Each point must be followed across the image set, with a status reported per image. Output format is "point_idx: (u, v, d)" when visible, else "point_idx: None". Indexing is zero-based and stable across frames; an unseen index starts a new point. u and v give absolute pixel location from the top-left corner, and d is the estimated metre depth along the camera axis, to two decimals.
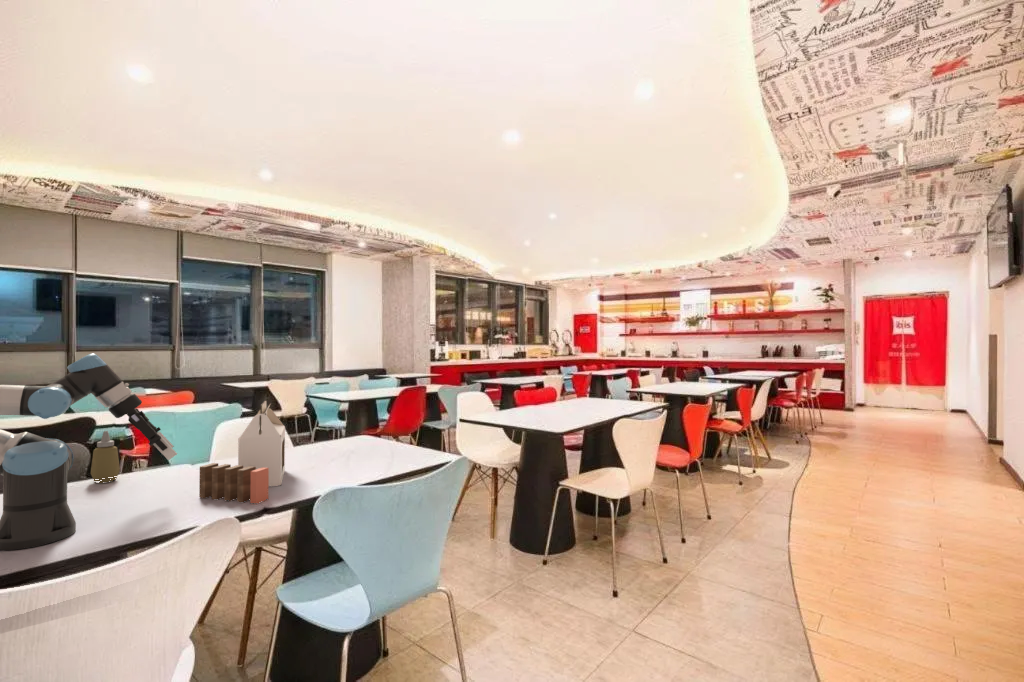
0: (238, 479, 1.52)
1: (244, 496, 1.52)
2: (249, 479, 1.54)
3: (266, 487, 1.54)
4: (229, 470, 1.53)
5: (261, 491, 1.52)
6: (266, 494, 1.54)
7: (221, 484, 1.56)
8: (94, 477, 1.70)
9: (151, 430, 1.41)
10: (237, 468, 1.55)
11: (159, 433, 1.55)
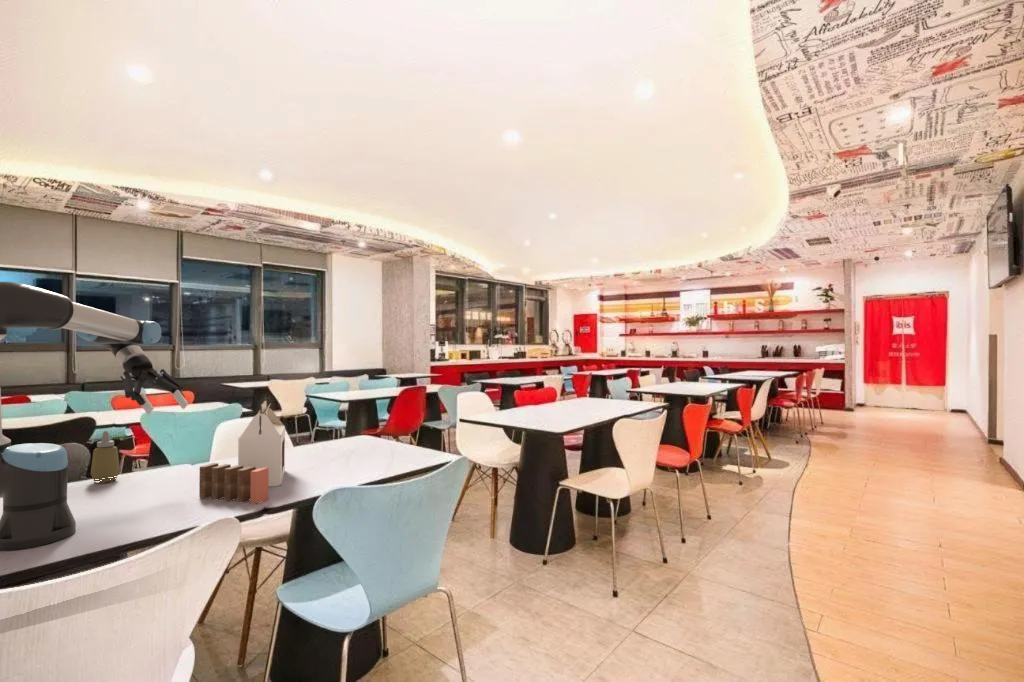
0: (238, 479, 1.52)
1: (244, 496, 1.52)
2: (249, 479, 1.54)
3: (266, 487, 1.54)
4: (229, 470, 1.53)
5: (261, 491, 1.52)
6: (266, 494, 1.54)
7: (221, 484, 1.56)
8: (94, 477, 1.70)
9: None
10: (237, 468, 1.55)
11: None
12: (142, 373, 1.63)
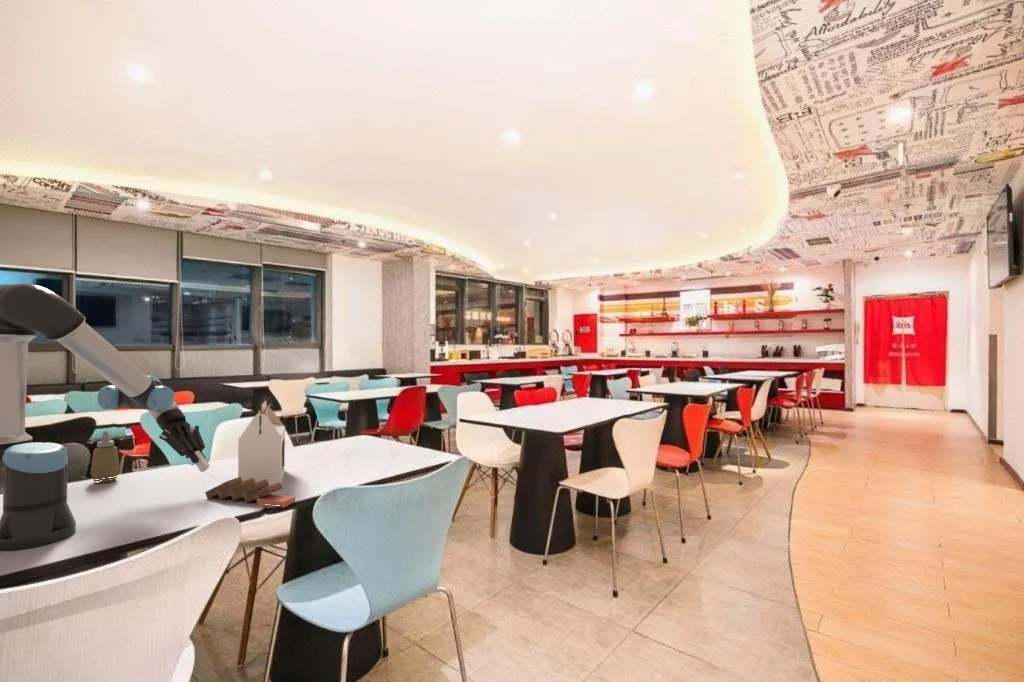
0: (261, 490, 1.50)
1: (251, 500, 1.51)
2: None
3: None
4: (256, 488, 1.50)
5: None
6: None
7: None
8: (94, 477, 1.70)
9: None
10: (263, 487, 1.53)
11: None
12: (178, 428, 1.60)
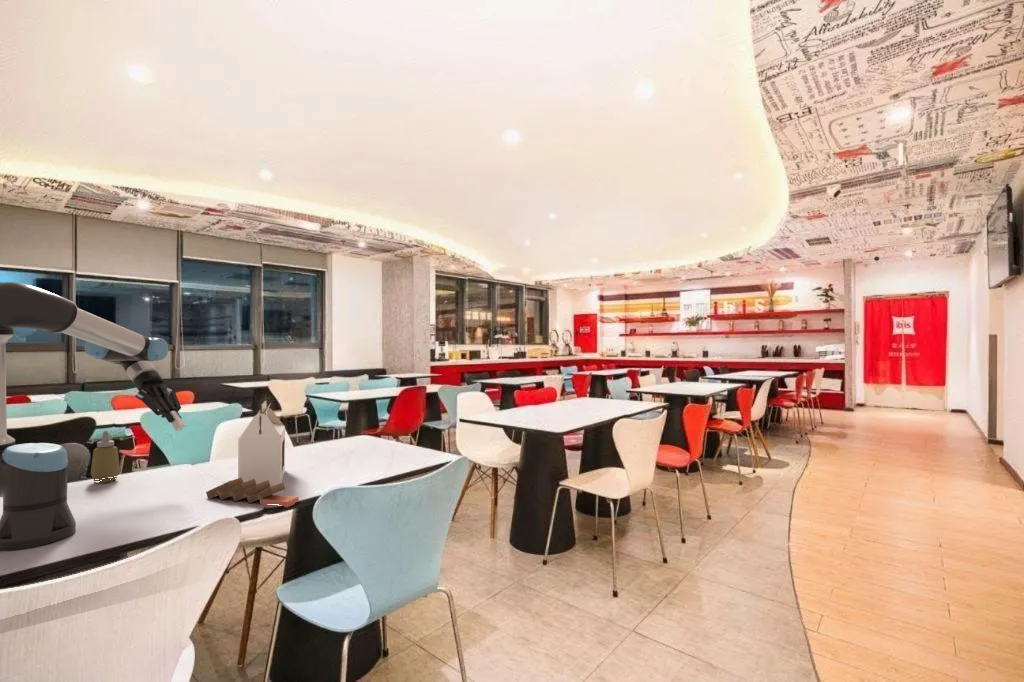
0: (264, 491, 1.49)
1: None
2: None
3: None
4: (257, 490, 1.50)
5: None
6: None
7: None
8: (94, 477, 1.70)
9: None
10: None
11: None
12: (154, 389, 1.64)
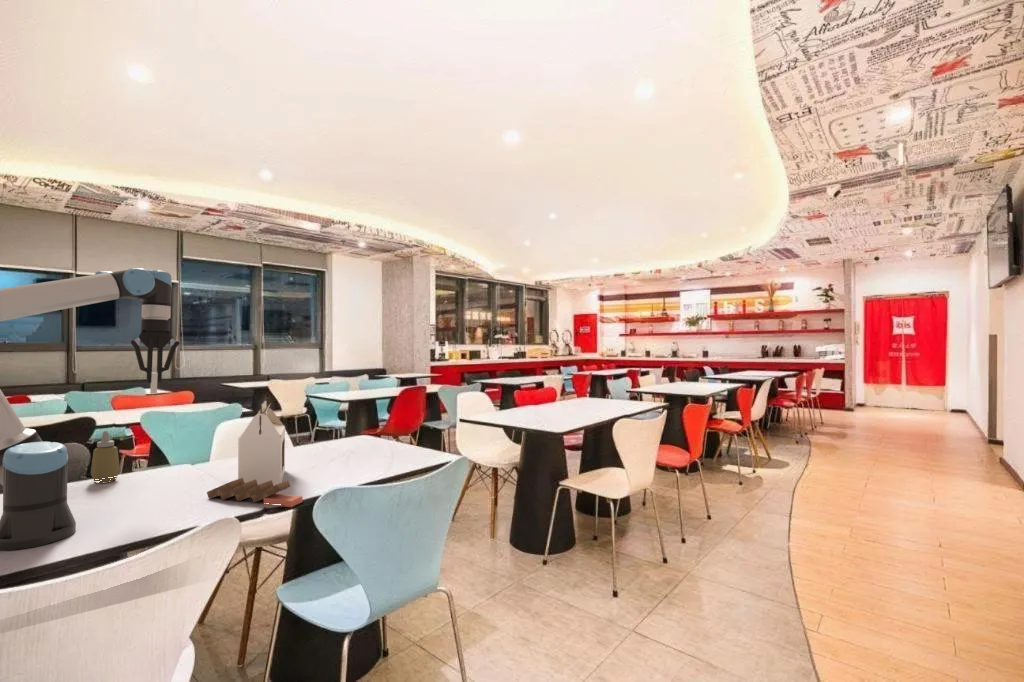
0: (270, 488, 1.50)
1: None
2: None
3: None
4: (261, 490, 1.50)
5: None
6: None
7: (236, 494, 1.54)
8: (94, 477, 1.70)
9: None
10: (267, 488, 1.53)
11: None
12: (150, 342, 1.53)
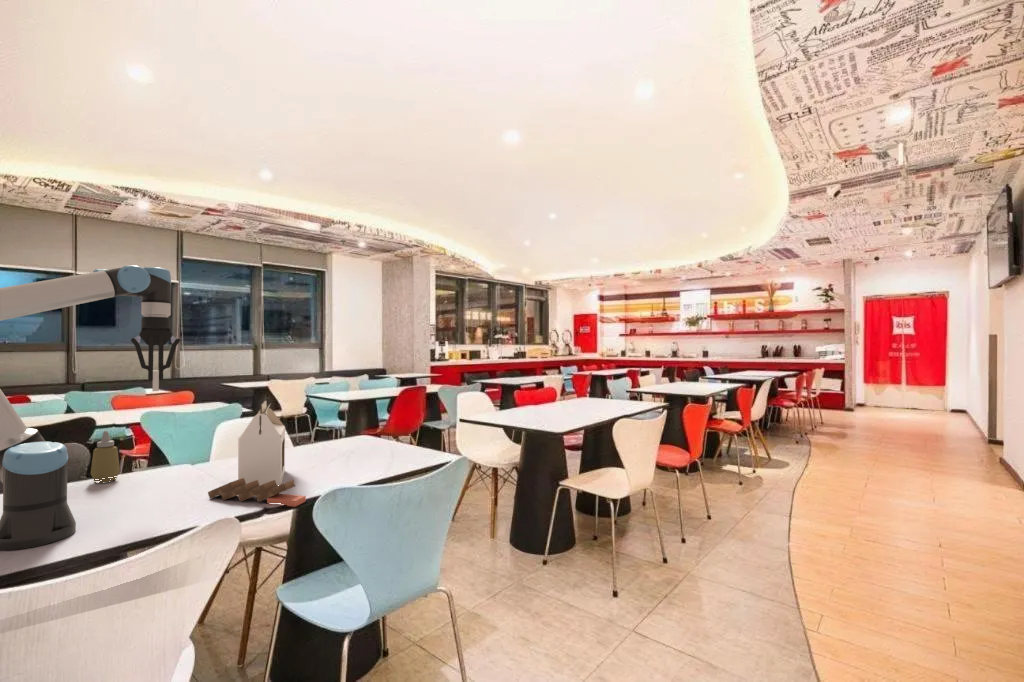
0: (276, 487, 1.50)
1: None
2: None
3: None
4: (265, 489, 1.50)
5: None
6: None
7: None
8: (94, 477, 1.70)
9: None
10: None
11: None
12: (150, 339, 1.52)
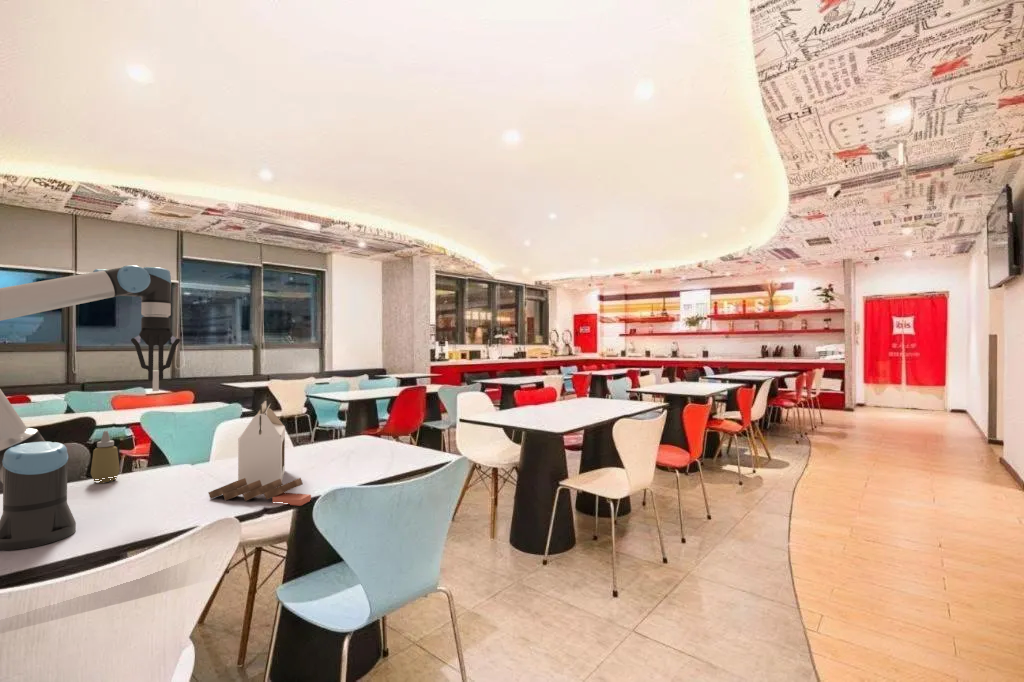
0: (286, 484, 1.53)
1: None
2: None
3: None
4: (273, 487, 1.52)
5: None
6: None
7: None
8: (94, 477, 1.70)
9: None
10: (278, 486, 1.55)
11: None
12: (150, 339, 1.52)
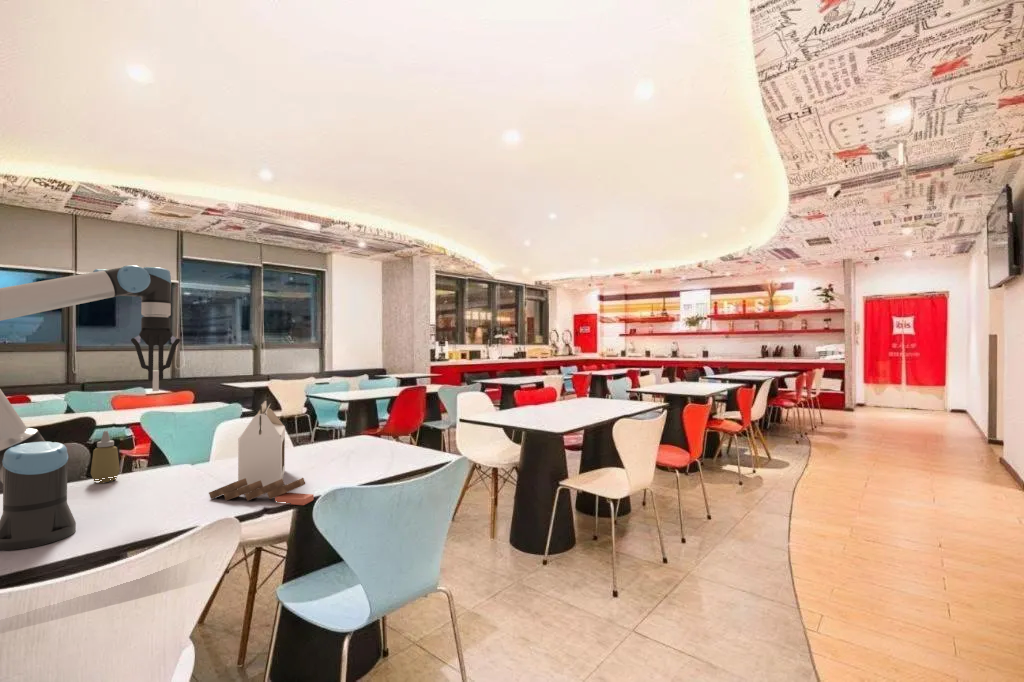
0: (290, 484, 1.53)
1: (275, 496, 1.52)
2: None
3: None
4: (276, 487, 1.52)
5: None
6: None
7: None
8: (94, 477, 1.70)
9: None
10: (280, 486, 1.55)
11: None
12: (150, 339, 1.52)
